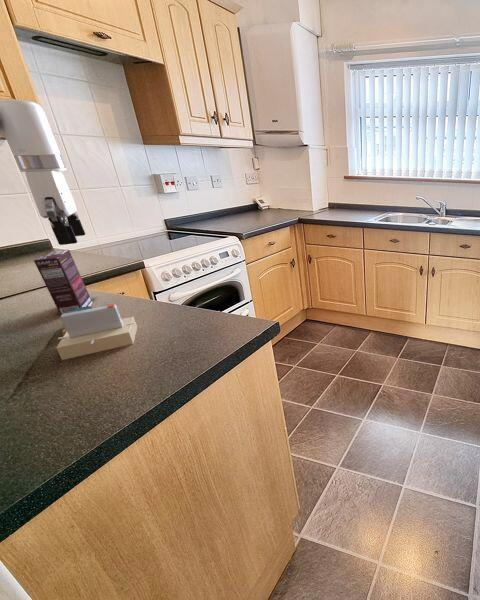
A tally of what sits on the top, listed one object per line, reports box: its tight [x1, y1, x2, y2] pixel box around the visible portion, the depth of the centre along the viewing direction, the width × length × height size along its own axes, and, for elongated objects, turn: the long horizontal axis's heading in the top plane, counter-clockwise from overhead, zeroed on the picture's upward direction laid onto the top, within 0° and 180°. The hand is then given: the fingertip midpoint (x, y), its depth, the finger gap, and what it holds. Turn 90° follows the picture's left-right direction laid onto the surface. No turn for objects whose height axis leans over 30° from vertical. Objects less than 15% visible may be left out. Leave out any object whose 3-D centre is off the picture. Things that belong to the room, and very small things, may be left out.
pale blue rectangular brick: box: [60, 303, 123, 338], centre depth 73 cm, size 9×2×5 cm, turn 121°
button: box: [73, 305, 94, 312], centre depth 81 cm, size 4×4×2 cm
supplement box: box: [33, 249, 94, 315], centre depth 88 cm, size 9×5×16 cm, turn 27°
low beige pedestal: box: [55, 316, 138, 361], centre depth 75 cm, size 13×13×3 cm
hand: (73, 239), depth 82 cm, fingers open, 9 cm apart
